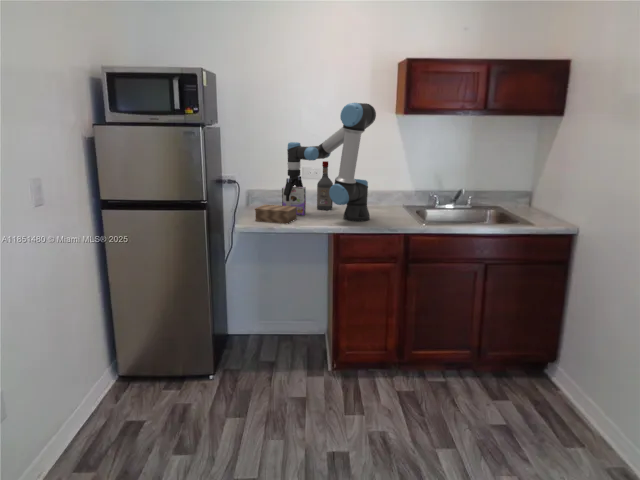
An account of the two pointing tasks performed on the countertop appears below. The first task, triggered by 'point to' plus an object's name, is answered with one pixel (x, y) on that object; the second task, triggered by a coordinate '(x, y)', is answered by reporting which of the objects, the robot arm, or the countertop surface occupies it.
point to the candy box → (296, 199)
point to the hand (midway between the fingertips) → (294, 204)
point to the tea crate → (275, 213)
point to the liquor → (324, 190)
